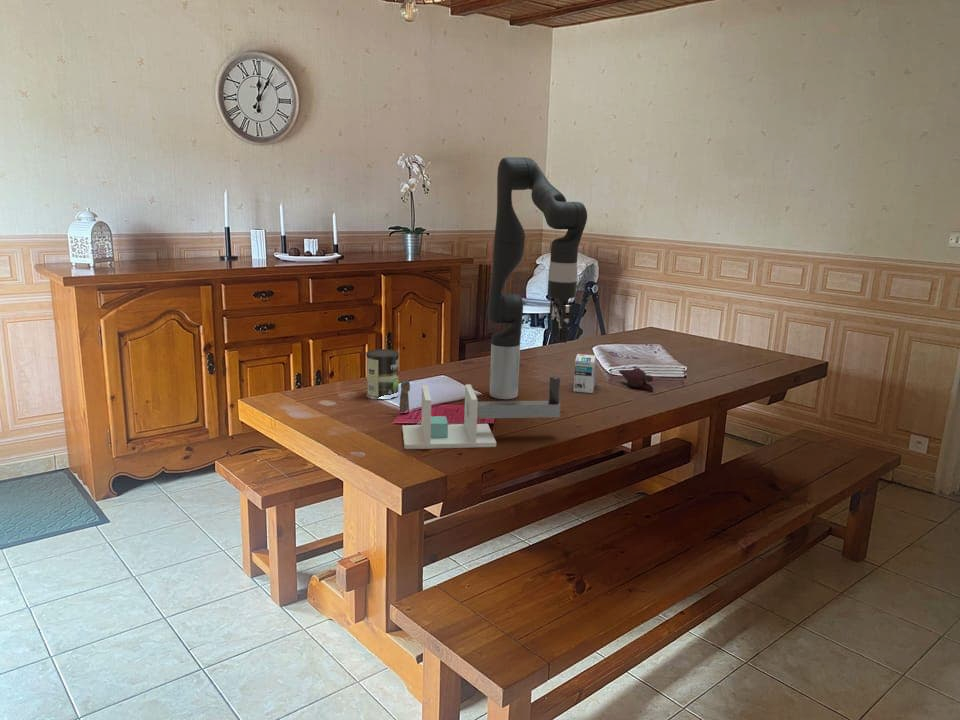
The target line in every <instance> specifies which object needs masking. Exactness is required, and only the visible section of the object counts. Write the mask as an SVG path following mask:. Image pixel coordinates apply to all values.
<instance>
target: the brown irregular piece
mask: <svg viewBox="0 0 960 720" xmlns="http://www.w3.org/2000/svg"><path fill="white" fill-rule="evenodd" d="M618 372H619V374H620V375H621V376H623V378H624V379H625V380H626V381H627V382H626V383H627V384H628V386H629V387H631V388H639V389H640V388H642V387H643V388H645V390H646V391H648V392H652V391H653V390H654V387H653V386H652V384H649V383H651V382H653V380H654V377H653V375H650V374H647V373H646V372H645V371H644V370H643V369H641V368H640V367H634V368H633V369H621V370H618Z"/></svg>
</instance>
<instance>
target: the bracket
mask: <svg viewBox="0 0 960 720" xmlns="http://www.w3.org/2000/svg"><path fill="white" fill-rule="evenodd" d="M464 387H465V388H464V389H465V390H464V416H463V417H464V421H463V423H460V424H459V423H458V424H457V423H456V424H455V423H453V424H452V423H451V424H449V423H448V438H431V416H432V397H431V394H430V390H429V387H428V384H421V421H422V422H421V421H420V422H421V425H414V424H409V425H408V424H406V425H404V424H402V425H401V426H402V430H401V431H402V436H403V447H404V450H418V449H419V450H421V449H422V450H426V449H428V450H429V449H462V448H463V449H465V448H466V449H467V448H468V449H469V448H496V447H497V441H496V438H495V436H494V434H493V432H492V430H491V428H490V426H489V424H488V423H478V419H477V405H478V402H479V401H478V397H477V395H476V393H475V391H474V388H473V386H472V384H470V383H469V384H468V383H467V384H465V386H464Z"/></svg>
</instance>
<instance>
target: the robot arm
mask: <svg viewBox="0 0 960 720" xmlns="http://www.w3.org/2000/svg"><path fill="white" fill-rule="evenodd" d="M496 180H497V181H496V182H497V183H496V189H497V190H496V194H497V195H496V198H497V199H496V200H497V201H496V218H495V219H496V220H495V221H496V222H495V228H494V229H495V230H494V241H493V252H492V271H491V280H490V287H489V294H488V303H487V318H488V321H489V323H492V324H508V325H507V327H505V328H504V329H502V330H500V331H497V332H494V333H492V336H491V339H490V340H491V342H490V343H491V345H490V371H489V375H490V376H489V396H490V397H492V398H494V399H498V400H499V399H500V400H511V399H515V398H517V397H519V396H518V395H519V380H520V379H519V377H520V375H519V374H520V373H519V372H520V355H521V354H520V353H521V337H522V323H523V316H524V302H523V297H522V296H521V295H520V294H518V293H502V292H503V289H504V286H505V283H506V282H507V280H508V279H509V277H510V275H511V274H512V273H513V272H514V270H515V269H516V268H517V266H518V265H519V264H520V262H521V261H522V259H523V257H524V253H525V252H524V251H525V244H526V243H525V240H526V234H525V233H526V232H525V230H524V227H523V225H522V223H521V222H520V220H519V218H518V216H517V214H516V212H515V210H514V209H515V208H514V206H513V199H512V197H513V196H512V195H513V194H512V193H513V191H526V190H531V199H532V203H533V204H534V205H535V206H536V208H537V209H538V210H539V211H541V213H542V214H543V216H544V219H545V222H546V225H548V227H549V228H551V229H553V230H567V231H566V233H565V234H564V236H562V237H559V238H555V239H553V240H552V242H551V245H550V261H549V267H548V275H547V277H548V278H547V294H546V295H547V296H548V297H550V304H549V305H550V306H549V315H548V316H549V318H550V321H551V329H550V334H551V336H558V339H557V340H558V342H559V343H562V344H563V343H564V344H565V343H567V342H568V337H569V336H568V335H569V334H568V333H569V332H568V331H569V329H571V328H572V320H573V319H572V316H573V304H569V300H571V299H574V298H575V297H576V295H577V282H578V257H579V256H578V254H579V250H578V249H579V245H580V242H581V240H582V236H583V232H584V231H585V227H586V224H587V221H588V211H587V208H586V206H585V204H583V202H580V201H567V199H566V197H565V196H564V195H565V194H563V193H562V192H561V191H560V190H558V189H557V188H556V187H555V186H554V185H553V184H551V183H550V181H549V180H548V178H547V177H546V175H545V173H544V172H543V171H542V169H541V168H540V166H539V164H538V163H537V162H536V161H535V160H534V159H532V158H531V157H517V156H515V157H511V156H510V157H507V156H506V157H502V158H501V160H499V163H498V167H497V178H496Z"/></svg>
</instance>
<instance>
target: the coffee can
mask: <svg viewBox="0 0 960 720" xmlns="http://www.w3.org/2000/svg"><path fill="white" fill-rule="evenodd" d="M365 355H366V397H367V398H369V399H372V400H376V399H378V398H379V397H381V396H384V395H391V394H394V393H397V392H398V391H400V390H399V387H400V386H399V381H400V379H399V378H400V377H399V370H400V369H399V364H400V363H399V361H400V360H399V355H400V352H399V351H397V350H395V349H394V350H393V349H388V348H387V349H386V348H377V349H372V350H368V351H366V352H365Z"/></svg>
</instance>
